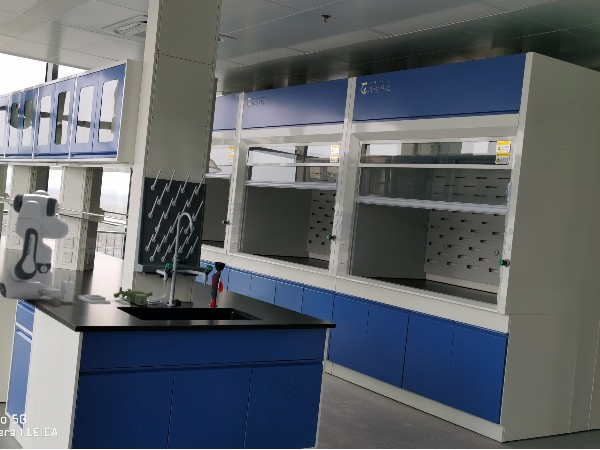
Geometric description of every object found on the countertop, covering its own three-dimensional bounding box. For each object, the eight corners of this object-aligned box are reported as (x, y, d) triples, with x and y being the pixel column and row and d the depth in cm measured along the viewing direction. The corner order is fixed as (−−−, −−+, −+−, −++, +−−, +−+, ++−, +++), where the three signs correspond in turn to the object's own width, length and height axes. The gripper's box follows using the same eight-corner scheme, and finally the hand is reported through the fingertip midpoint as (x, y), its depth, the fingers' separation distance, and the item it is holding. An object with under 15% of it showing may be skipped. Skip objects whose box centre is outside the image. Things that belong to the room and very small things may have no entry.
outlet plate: (78, 299, 359) (79, 293, 359) (97, 299, 366) (98, 294, 366) (90, 303, 349) (91, 298, 349) (110, 303, 356) (110, 298, 356)
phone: (76, 296, 366) (76, 295, 366) (87, 296, 371) (87, 294, 371) (92, 301, 357) (92, 299, 357) (103, 300, 363) (103, 299, 363)
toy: (107, 296, 380) (121, 308, 354) (109, 282, 379) (123, 294, 354) (144, 297, 390) (160, 310, 365) (146, 285, 390) (162, 296, 364)
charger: (59, 300, 347) (62, 280, 347) (68, 300, 350) (70, 280, 350) (63, 302, 344) (65, 281, 344) (72, 302, 347) (74, 281, 347)
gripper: (44, 287, 328) (71, 287, 338) (27, 280, 343) (54, 281, 353) (42, 300, 328) (70, 300, 338) (26, 293, 343) (53, 293, 353)
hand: (62, 290), depth 345 cm, fingers open, 8 cm apart
